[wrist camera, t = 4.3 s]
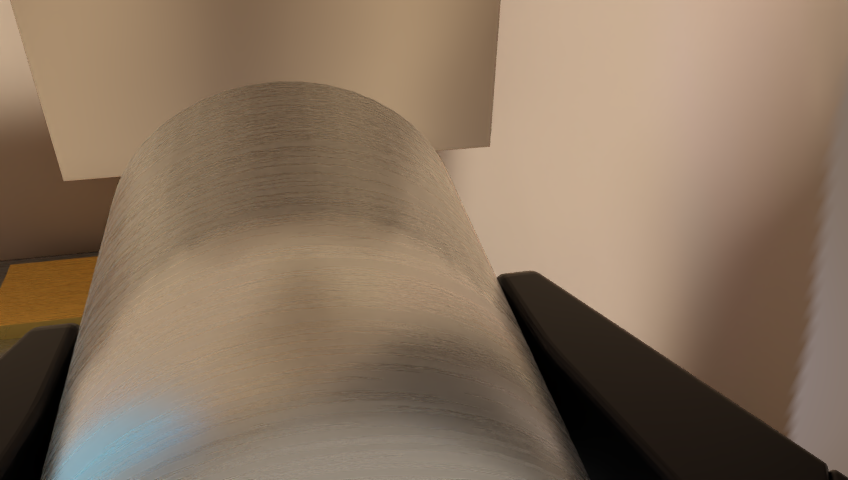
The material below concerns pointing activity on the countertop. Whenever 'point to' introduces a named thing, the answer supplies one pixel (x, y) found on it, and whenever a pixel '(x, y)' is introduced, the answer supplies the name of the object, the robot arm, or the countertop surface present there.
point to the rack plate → (42, 293)
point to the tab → (251, 64)
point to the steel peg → (298, 311)
